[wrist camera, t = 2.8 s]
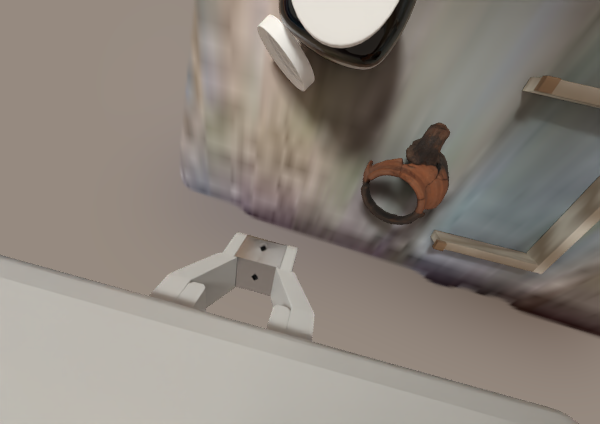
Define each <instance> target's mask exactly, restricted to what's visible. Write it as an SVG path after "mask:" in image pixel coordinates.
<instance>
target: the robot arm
mask: <svg viewBox="0 0 600 424" xmlns="http://www.w3.org/2000/svg"><path fill="white" fill-rule="evenodd" d="M297 250H298V248H296V247H292V246H287V245H283V244H279V243H276V242H272V241H268V240H264V239H261V238H257V237H254V236H250V235H246V234H243V233H239V232H238V233H236V234H235V236H234V237H233V238H232V240H231V241H230V243H229V244H228V246H227V247H226V248H225V250H224V251H223V253H217V254H214V255H212V256H210V257H207V258H205V259H203V260H200V261H198V262H196V263H193V264H191V265H189V266H186V267H184V268H181V269H179V270H177V271H175V272H172V273H170V274H168V275H167V276H166V278H165V279H164V280H163V281H162V282H161V283H160V284H159V285H158V286H157V287H156V289H155V290H154V291H153V292H152V293H151V294H150V295H149V296H147V295H143V294H139V293H136V292H132V291H129V290H125V289H121V288H118V287H114V286H110V285H107V284H103V283H100V282H96V281H93V280H89V279H86V278H82V277H78V276H74V275H71V274H68V273H64V272H60V271H56V270H53V269H50V268H46V267H42V266H39V265H35V264H32V263H28V262H24V261H21V260H17V259H13V258H10V257H6V256H3V255H0V424H579V423H578V422H576V421H575V420H574V419H573V418H572V417H570V416H568V415H567V414H565V413H563V412H561V411H558V410H555V409H552V408H549V407H546V406H543V405H539V404H535V403H532V402H527V401H524V400H521V399H517V398H513V397H510V396H506V395H502V394H499V393H495V392H492V391H488V390H484V389H481V388H477V387H473V386H470V385H466V384H463V383H459V382H455V381H452V380H448V379H444V378H441V377H437V376H434V375H430V374H427V373H423V372H420V371H416V370H412V369H409V368H405V367H402V366H398V365H394V364H391V363H387V362H383V361H380V360H376V359H373V358H369V357H366V356H362V355H358V354H355V353H351V352H347V351H344V350H341V349H337V348H333V347H330V346H326V345H323V344H319V343H315V342H312V334H313V325H314V317H315V313H314V311H313V309H312V307H311V305H310V303H309V301H308V299H307V297H306V295H305V293H304V291H303V289H302V287H301V285H300V282H299V280H298V279H297V276H296V274H295V273H294V272H292V270H293V267H294V262H295V258H296V254H297ZM235 287H239V288H243V289H247V290H251V291H255V292H258V293H261V294H265V295H268V296H270V298H271V301H272V305H273V310H272V313H271V316H270V319H269V322H268V325H267V328H266V329H265V328H261V327H258V326H254V325H251V324H247V323H244V322H240V321H236V320H232V319H229V318H225V317H222V316H218V315H215V314H211V313H208V312H206V308H207V307H208V306H210V305H211V304H213V303H214V302H215V301H217V300H218V299H220V298H221V297H222V296H224V295H225V294H227V293H228V292H230V291H231V290H232V289H234V288H235Z"/></svg>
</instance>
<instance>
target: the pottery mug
mask: <svg viewBox="0 0 600 424" xmlns="http://www.w3.org/2000/svg"><path fill="white" fill-rule="evenodd" d="M449 135H450V131H449V129H448V128H447V127H446V125H444V124H442V123H436V124H434V125H431V126H430V127H429V128H428V129H427V131H426V132H425V134H424V135H423V137H422V138H421V139H418V140H415V141H413V144H412V145H410V146H409V148H407V150H406V157H407V160H408V161H409V162H411V163H410V164H403V159H402V158H398V159H392V160H386V161H383V162H380V163H377V164H375V165H373V166H372V164H373V161H372V160H370V162H369V163H368V165H367V167H366V169H365V171H364V175H363V176H364V178H363V186H362V187H361V195H362V199H363V201H364V204H365V205H366V207H367V208H368V209H369V210H370V212H371V213H372V214H373V215H375V216H376V217H377V218H379V219H380V220H382V221H384V222H387V223H390V224H397V225H403V224H409V223H412V222H413V221H415V220H416V219H418V218H420V217H423V216H424V215H425V213H423V210H424V209H427V210H428V209H433V208H436V207H437V206H438V205H439V204H440V203H441V201H442V200H443V198H444V196H445V194H446V192H447V190H448V186H449V176H448V165H447V161H446V159H445V157H444V155H443V154H442V153H441V152H440V150H441V147H442V145H443V144H444V142H445V141H446V139H447V138H448V137H449ZM436 164H437V165H438V166H437V167H436ZM383 175H390V176H395V177H400V178H401V179H403V180H404V181H406V182H407V183H408V184H409V185H410V186H411V187H412V188H413V190H414V191H415V193H416V196H417V207H416V209H415V211H414V212H413V213H411V214H409V215H406V216H397V215H395V214H390V213H388V212H386V211H384V210H383V209H381V208H380V207H379V206H377V205H376V203H375V202H374V200H373V199H372V197H371V195H370V191H369V186H370V184H369V182H370V180H373V179H375V178H377V177H379V176H383Z"/></svg>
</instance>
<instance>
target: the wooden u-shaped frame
mask: <svg viewBox="0 0 600 424" xmlns="http://www.w3.org/2000/svg"><path fill="white" fill-rule="evenodd" d="M522 91H526V92H530V93H534V94H539V95H543V96H548V97H552V98H557V99H561V100H565V101H570V102H574V103H579V104H583V105H588V106H592V107H596V108H600V88H595V87H591V86H586V85H582V84H577V83H573V82H569V81H564V80H561V79H560V78H556V77H551V76H543V77H530V79H529V81H528V82H527V84H526V85H525V87H524V89H523V90H522ZM599 220H600V176H599V177H598V178H597V179H596V180H595V181H594V183H593V184H592V185H591V186H590V187H589V188H588V189H587V190H586V191H585V192H584V193H583V194H582V195H581V196H580V197H579V198H578V199H577V200H576V201H575V202H574V204H573V205H572V206H571V207H570V208H569V209H568V210H567V211H566V212H565V213H564V214H563V215H562V216H561V217H560V218H559V219H558V220H557V221H556V222H555V223H554V224H553V226H552V227H551V228H550V229H549V230H548V231H547V232H546V233H545V234H544V235H543V236H542V237H541V238H540V239H539V240H538V241H537V242H536V243H535V244H534V245H533V247H532V248H531V249H530V250H529V251H528V252H527V253H524V252H520V251H516V250H512V249H508V248H504V247H500V246H496V245H492V244H488V243H484V242H480V241H476V240H472V239H468V238H465V237H461V236H457V235H453V234H449V233H445V232H441V231H437V230H434V232H433V233H432V235H431V238H432V240H433V242H434V244H433V246H432V247H433V249H436V250H440V251H443V250H444V249H445V250H449V251H453V252H457V253H461V254H465V255H469V256H473V257H477V258H481V259H484V260H488V261H492V262H496V263H500V264H504V265H508V266H512V267H516V268H519V269H523V270H527V271H531V272H535V273H539V274H542V273H543V272H544V271H545V270H546V269H548V268H549V267H550V266H551V265H552V264H553V263H554V262H555V261H556V260H557V259H558V258H559V257H560V256H561V255H563V254H564V253H565V252H566V251H567V250H568V249H569V248H570V247H571V246H572V245H573V244H574V243H575V242H576V241H577V240H579V239H580V238H581V237H582V236H583V235H584V234H585V233H586V232H587V231H588V230H589V229H590V228H591V227H592V226H594V225H595V224H596V223H597V222H598V221H599Z"/></svg>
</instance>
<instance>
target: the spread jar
mask: <svg viewBox="0 0 600 424" xmlns="http://www.w3.org/2000/svg"><path fill="white" fill-rule="evenodd" d="M415 3H416V0H279V13H280V17H281V20H282V22H283V23H282V22H281V21H280V20H278V19H277V18H276V17H275V16H273V15H268V16H267V17H266V18H265V19H264V20H263V21H262V22H261V23H260V24H259V25H258V32H259V35H260V37H261V39H262V41H263V43H264V45H265V47H266V49H267V50H268V52H269V53H270V55H271V56H272V58H273V59H274V61H275V62H276V64H277V65H278V66H279V68H280V69H281V70H282V72H283V73H284V74H285V75H286V77H287V78H288V79H289V80H290V81H291V82H292V83H293V84H294V85H295V86H296V87H297V88H298V89H299V90H301V91H305V90H306V89H307V88H308V87H309V86H310V85H311V84H312V83H313V82H314V79H315V77H314V73H313V70H312V67H311V65H310V63H309V61H308V59H307V57H306V55H305V54H304V52H303V50H302V48H301V47H300V45H299V44H298V42H297V41H296V39H295V38H294V37H293V35H294V36H295V37H296V38H298V39H299V40H300V41H301V42H302V43H304V44H305V45H306V46H308V47H309V48H310V49H312V50H313V51H315V52H316V53H318V54H319V55H321V56H322V57H324V58H326V59H328V60H330V61H332V62H335V63H337V64H340V65H343V66H346V67H350V68H354V69H361V70H365V69H370V68H373V67H375V66H377V65H378V64H379V63H381V62H382V61H383V60H384V59H385V57H386V56H387V55H388V54H389V52H390V51H391V50H392V48H393V47H394V45H395V44H396V42H397V40H398V39H399V37H400V35H401V34H402V32H403V30H404V28H405V26H406V24H407V22H408V20H409V18H410V16H411V13H412V11H413V8H414V6H415ZM284 25H285V26H284ZM290 32H291V33H292V34H293V35H292V34H291V33H290Z"/></svg>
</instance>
